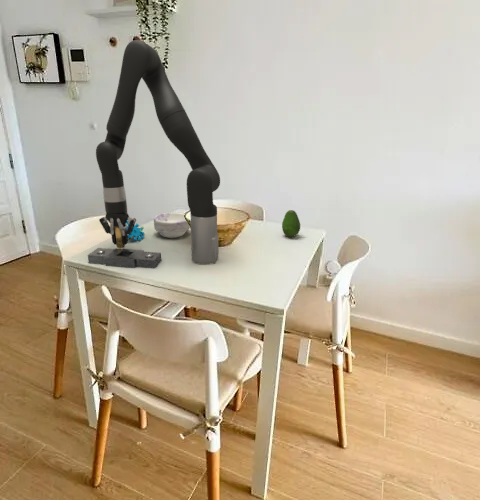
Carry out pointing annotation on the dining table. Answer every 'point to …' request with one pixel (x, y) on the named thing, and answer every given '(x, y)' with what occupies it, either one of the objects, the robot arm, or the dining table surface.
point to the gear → (136, 232)
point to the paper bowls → (171, 224)
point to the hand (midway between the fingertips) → (120, 243)
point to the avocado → (291, 224)
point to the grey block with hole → (125, 258)
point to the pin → (118, 237)
